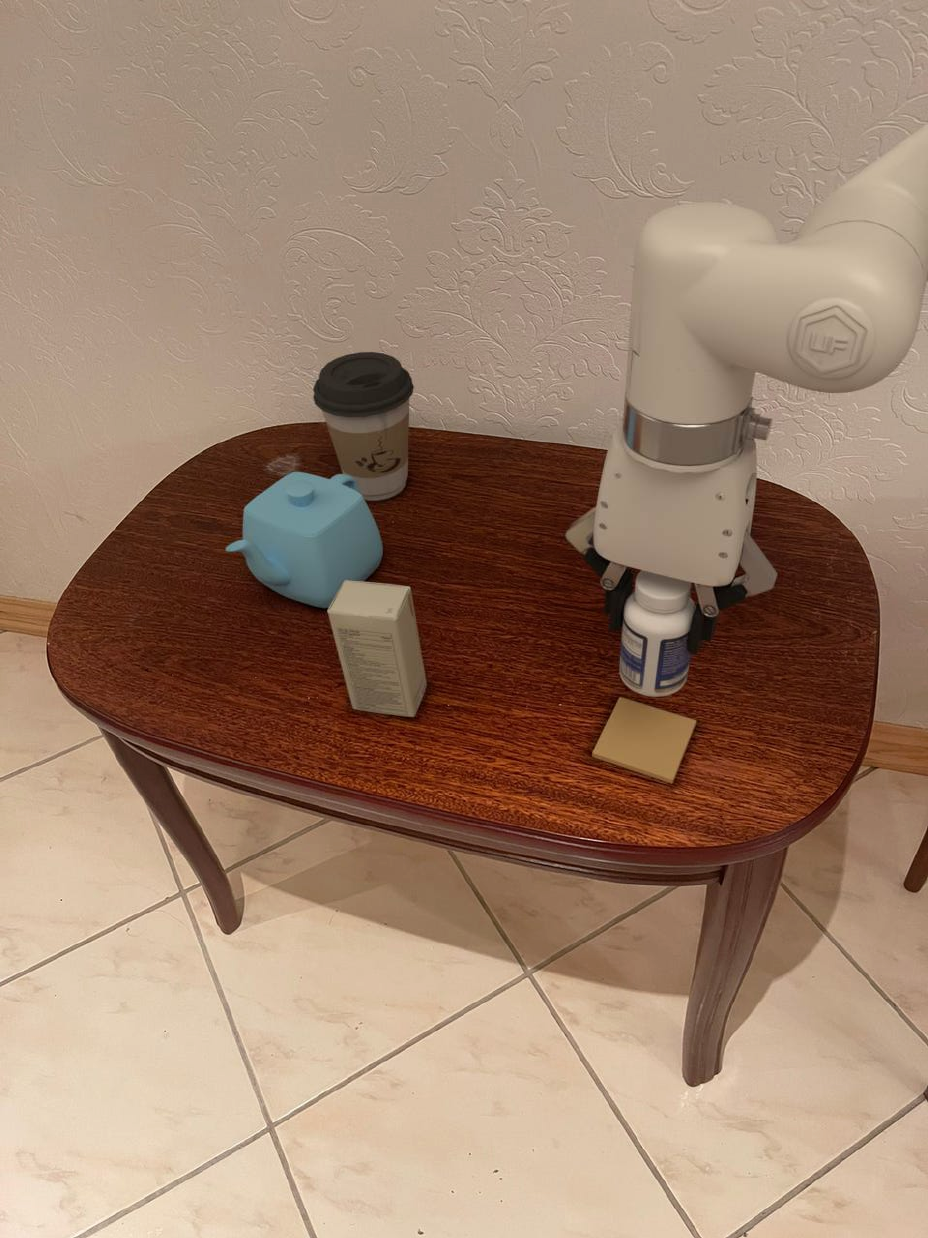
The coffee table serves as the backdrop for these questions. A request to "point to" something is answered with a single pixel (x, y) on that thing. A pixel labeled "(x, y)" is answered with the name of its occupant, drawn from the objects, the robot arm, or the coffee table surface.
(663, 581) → the pill bottle
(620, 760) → the mat
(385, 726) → the coffee table surface
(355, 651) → the cosmetic box
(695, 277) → the robot arm
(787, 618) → the coffee table surface
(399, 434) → the coffee cup
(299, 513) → the teapot
